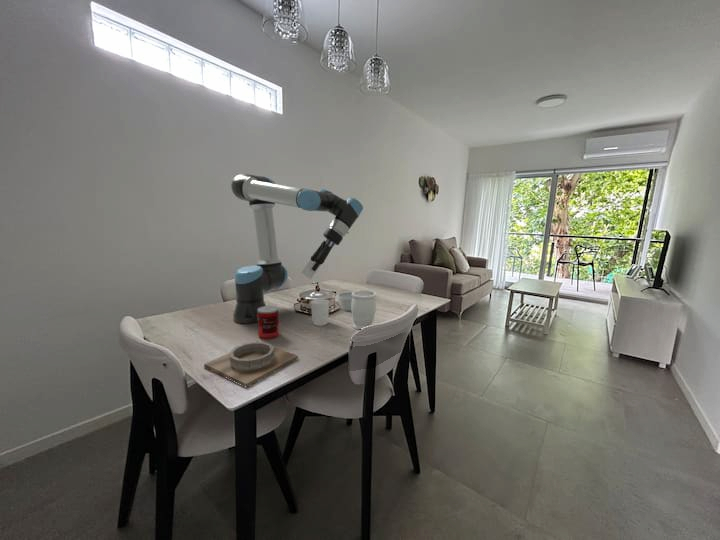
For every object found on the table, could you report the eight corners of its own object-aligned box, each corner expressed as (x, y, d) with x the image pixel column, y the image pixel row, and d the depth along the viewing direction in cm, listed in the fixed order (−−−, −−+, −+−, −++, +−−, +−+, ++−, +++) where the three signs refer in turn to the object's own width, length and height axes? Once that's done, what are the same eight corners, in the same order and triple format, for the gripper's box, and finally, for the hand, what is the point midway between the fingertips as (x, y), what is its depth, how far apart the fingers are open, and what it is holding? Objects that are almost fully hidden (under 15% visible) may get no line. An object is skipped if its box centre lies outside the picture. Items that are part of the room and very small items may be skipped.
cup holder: (204, 367, 90) (203, 354, 89) (257, 344, 107) (256, 333, 106) (246, 388, 80) (245, 373, 79) (297, 358, 96) (297, 347, 96)
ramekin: (363, 312, 145) (363, 299, 144) (337, 312, 145) (337, 298, 144) (362, 304, 158) (363, 292, 157) (338, 304, 158) (338, 291, 157)
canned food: (269, 330, 120) (268, 304, 118) (283, 334, 116) (282, 307, 114) (254, 336, 114) (252, 309, 112) (268, 341, 110) (267, 313, 108)
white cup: (330, 320, 133) (330, 299, 131) (327, 326, 125) (327, 304, 123) (313, 319, 134) (313, 298, 132) (309, 325, 126) (308, 303, 124)
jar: (363, 320, 133) (364, 289, 131) (380, 327, 126) (381, 293, 123) (345, 326, 126) (346, 292, 123) (362, 333, 119) (363, 298, 116)
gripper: (350, 237, 107) (317, 284, 105) (336, 238, 131) (309, 277, 129) (334, 224, 105) (300, 272, 103) (323, 228, 129) (295, 268, 127)
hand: (305, 275), depth 116 cm, fingers open, 13 cm apart
